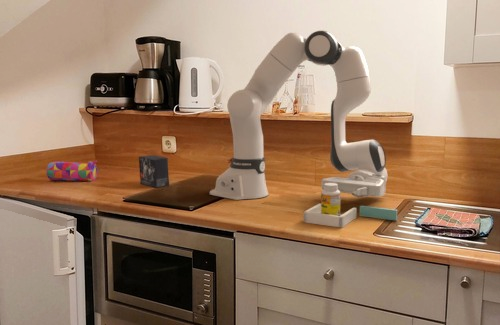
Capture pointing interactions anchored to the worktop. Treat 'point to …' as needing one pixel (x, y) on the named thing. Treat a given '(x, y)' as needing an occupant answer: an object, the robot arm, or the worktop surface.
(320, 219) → the tray
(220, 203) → the worktop surface
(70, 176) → the pencil case
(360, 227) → the worktop surface
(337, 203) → the supplement bottle
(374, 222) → the worktop surface
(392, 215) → the teal flat bar
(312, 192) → the worktop surface
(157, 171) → the small box
